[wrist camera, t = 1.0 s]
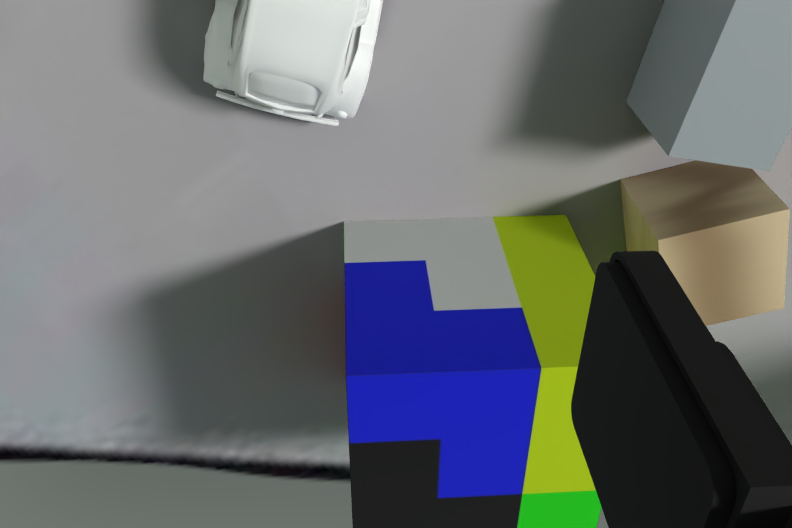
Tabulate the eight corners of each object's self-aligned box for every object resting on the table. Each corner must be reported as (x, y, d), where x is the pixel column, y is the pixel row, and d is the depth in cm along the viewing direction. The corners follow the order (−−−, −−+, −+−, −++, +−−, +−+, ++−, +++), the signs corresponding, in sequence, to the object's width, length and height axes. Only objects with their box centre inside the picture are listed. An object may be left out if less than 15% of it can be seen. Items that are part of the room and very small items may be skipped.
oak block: (733, 150, 33) (789, 209, 29) (733, 242, 36) (783, 308, 32) (619, 178, 33) (657, 240, 29) (627, 267, 36) (664, 335, 32)
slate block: (780, -31, 29) (854, 8, 25) (714, 115, 32) (769, 171, 28) (682, -51, 28) (741, -14, 24) (625, 100, 31) (668, 156, 27)
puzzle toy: (343, 220, 34) (345, 375, 26) (565, 213, 34) (637, 363, 26) (350, 384, 40) (354, 554, 31) (540, 376, 40) (592, 541, 32)
